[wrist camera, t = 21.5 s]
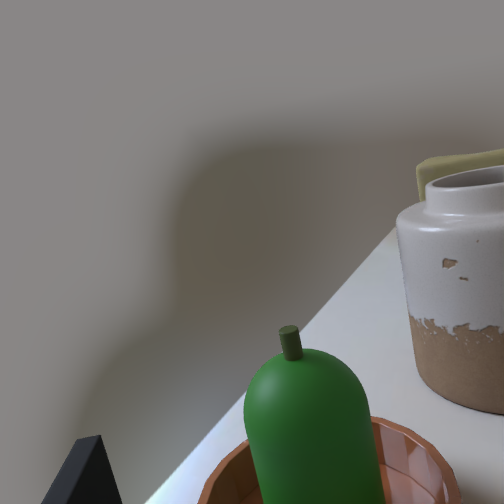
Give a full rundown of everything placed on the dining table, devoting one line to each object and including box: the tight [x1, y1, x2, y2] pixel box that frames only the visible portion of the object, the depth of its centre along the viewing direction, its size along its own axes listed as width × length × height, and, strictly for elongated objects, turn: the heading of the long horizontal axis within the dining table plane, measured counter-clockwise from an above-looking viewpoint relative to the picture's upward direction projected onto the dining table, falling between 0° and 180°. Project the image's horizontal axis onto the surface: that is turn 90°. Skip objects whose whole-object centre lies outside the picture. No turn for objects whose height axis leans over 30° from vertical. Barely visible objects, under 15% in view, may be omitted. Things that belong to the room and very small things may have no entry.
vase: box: [396, 165, 504, 414], centre depth 39 cm, size 15×15×17 cm
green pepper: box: [244, 325, 386, 504], centre depth 25 cm, size 7×7×13 cm
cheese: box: [416, 148, 504, 202], centre depth 71 cm, size 22×10×15 cm, turn 57°
